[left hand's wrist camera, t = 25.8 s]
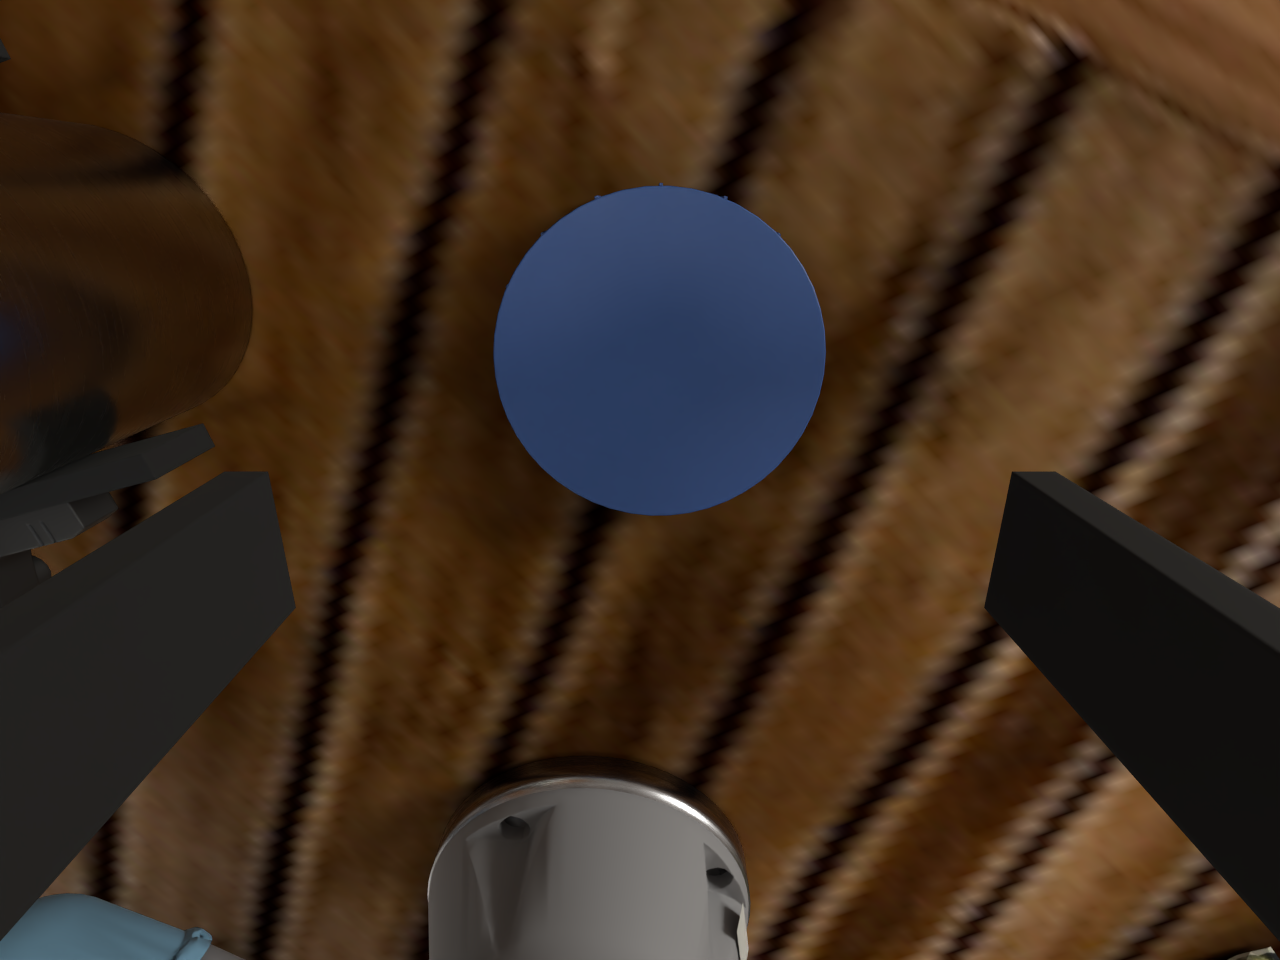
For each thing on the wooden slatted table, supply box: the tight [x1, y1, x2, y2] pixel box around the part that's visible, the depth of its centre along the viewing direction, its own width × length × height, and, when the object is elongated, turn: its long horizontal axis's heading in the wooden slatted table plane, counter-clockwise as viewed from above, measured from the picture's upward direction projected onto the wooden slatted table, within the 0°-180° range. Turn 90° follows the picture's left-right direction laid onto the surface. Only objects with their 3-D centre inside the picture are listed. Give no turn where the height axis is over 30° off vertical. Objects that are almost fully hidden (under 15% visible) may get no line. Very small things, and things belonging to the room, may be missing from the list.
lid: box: [494, 183, 826, 515], centre depth 24 cm, size 11×11×2 cm
